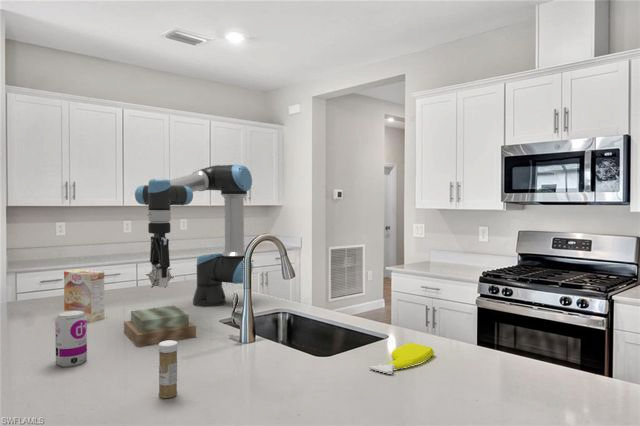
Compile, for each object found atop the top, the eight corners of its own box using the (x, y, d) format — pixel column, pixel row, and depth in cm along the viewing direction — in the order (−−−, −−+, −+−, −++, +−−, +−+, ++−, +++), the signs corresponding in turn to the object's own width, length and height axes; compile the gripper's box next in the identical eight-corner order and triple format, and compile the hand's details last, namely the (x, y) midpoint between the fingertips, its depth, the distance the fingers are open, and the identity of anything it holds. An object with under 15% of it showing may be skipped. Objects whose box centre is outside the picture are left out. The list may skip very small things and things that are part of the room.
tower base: (178, 324, 181) (178, 303, 181) (196, 337, 165) (196, 314, 164) (124, 332, 170) (123, 310, 169) (137, 347, 153) (137, 323, 153)
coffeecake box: (63, 318, 188) (63, 271, 187) (78, 314, 194) (78, 268, 194) (90, 322, 182) (90, 273, 181) (105, 318, 189) (105, 271, 188)
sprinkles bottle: (155, 395, 116) (155, 342, 116) (171, 389, 120) (171, 338, 119) (165, 400, 113) (165, 346, 113) (181, 394, 117) (181, 342, 116)
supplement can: (92, 360, 140) (92, 311, 140) (68, 369, 133) (67, 317, 133) (74, 356, 144) (74, 308, 143) (49, 364, 136) (49, 314, 136)
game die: (165, 296, 168) (182, 273, 171) (156, 292, 160) (174, 269, 163) (146, 283, 170) (163, 260, 173) (136, 279, 162) (154, 255, 165)
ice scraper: (437, 357, 147) (396, 381, 128) (406, 350, 154) (364, 371, 136) (437, 348, 147) (396, 371, 128) (407, 341, 154) (364, 361, 135)
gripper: (140, 220, 172) (141, 280, 173) (157, 223, 155) (157, 290, 156) (161, 220, 177) (161, 279, 178) (179, 223, 159) (179, 288, 160)
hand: (159, 284), depth 167 cm, fingers closed on game die, 9 cm apart
